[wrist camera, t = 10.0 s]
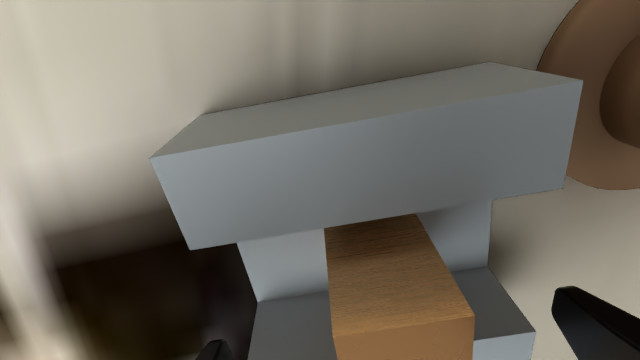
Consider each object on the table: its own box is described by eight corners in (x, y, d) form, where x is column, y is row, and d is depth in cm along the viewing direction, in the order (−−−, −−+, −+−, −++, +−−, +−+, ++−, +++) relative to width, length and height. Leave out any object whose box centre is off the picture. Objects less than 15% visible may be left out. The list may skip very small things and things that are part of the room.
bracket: (475, 298, 15) (526, 381, 12) (274, 329, 16) (264, 418, 12) (490, 61, 11) (583, 80, 7) (200, 114, 11) (149, 158, 7)
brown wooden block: (402, 264, 13) (468, 427, 8) (336, 275, 13) (356, 442, 8) (396, 180, 12) (475, 315, 6) (320, 193, 12) (332, 337, 6)
